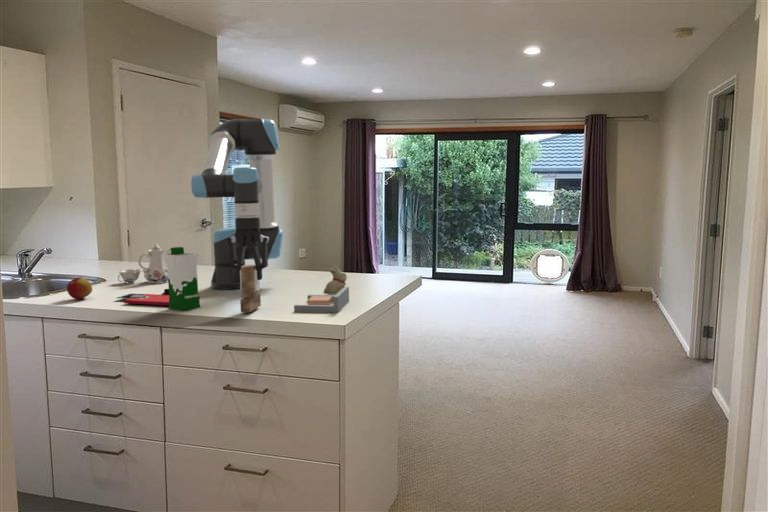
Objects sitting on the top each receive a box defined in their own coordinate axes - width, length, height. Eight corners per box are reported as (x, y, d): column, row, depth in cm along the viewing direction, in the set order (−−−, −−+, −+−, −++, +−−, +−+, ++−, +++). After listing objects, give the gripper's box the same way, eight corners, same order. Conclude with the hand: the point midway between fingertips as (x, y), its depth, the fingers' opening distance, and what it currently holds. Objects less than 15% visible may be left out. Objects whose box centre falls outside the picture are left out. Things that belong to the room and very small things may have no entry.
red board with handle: (134, 295, 223) (105, 303, 209) (133, 287, 223) (104, 295, 209) (206, 298, 215) (181, 307, 201) (205, 290, 215) (180, 298, 201)
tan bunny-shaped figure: (343, 293, 223) (343, 266, 221) (323, 292, 224) (322, 266, 223) (347, 290, 228) (346, 264, 227) (327, 289, 230) (326, 263, 228)
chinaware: (173, 278, 271) (169, 241, 270) (195, 278, 261) (191, 239, 260) (113, 288, 249) (108, 248, 248) (135, 288, 239) (130, 246, 238)
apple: (68, 298, 219) (66, 276, 218) (93, 296, 223) (91, 275, 222) (67, 302, 213) (65, 279, 212) (92, 300, 216) (90, 278, 215)
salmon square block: (307, 309, 198) (307, 300, 197) (312, 304, 205) (311, 296, 204) (328, 309, 197) (328, 300, 197) (332, 304, 204) (332, 296, 204)
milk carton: (186, 304, 207) (183, 246, 204) (204, 307, 202) (201, 247, 199) (164, 309, 199) (161, 248, 197) (183, 312, 194) (179, 250, 192)
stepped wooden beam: (239, 312, 190) (237, 268, 188) (250, 305, 200) (248, 263, 198) (251, 312, 189) (249, 268, 187) (262, 305, 199) (260, 263, 197)
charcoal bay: (294, 311, 193) (293, 296, 192) (308, 300, 210) (308, 286, 210) (338, 312, 191) (337, 297, 190) (349, 301, 208) (348, 286, 208)
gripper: (216, 217, 188) (220, 291, 191) (269, 217, 186) (272, 292, 189) (226, 216, 195) (229, 287, 198) (277, 215, 193) (279, 288, 196)
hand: (250, 289), depth 194 cm, fingers closed on stepped wooden beam, 4 cm apart
